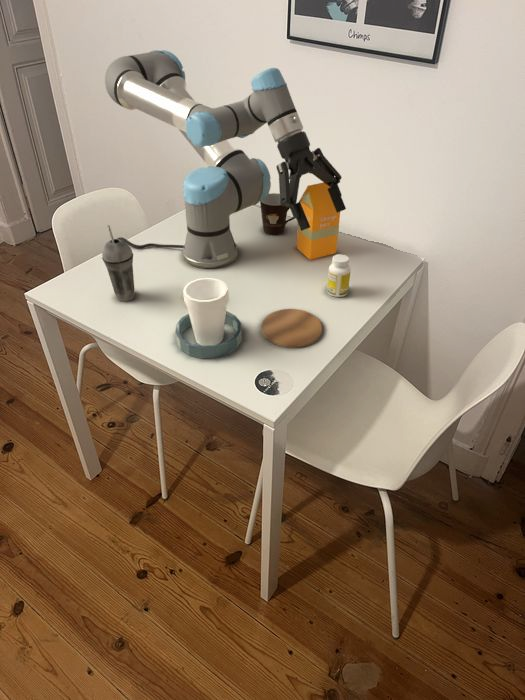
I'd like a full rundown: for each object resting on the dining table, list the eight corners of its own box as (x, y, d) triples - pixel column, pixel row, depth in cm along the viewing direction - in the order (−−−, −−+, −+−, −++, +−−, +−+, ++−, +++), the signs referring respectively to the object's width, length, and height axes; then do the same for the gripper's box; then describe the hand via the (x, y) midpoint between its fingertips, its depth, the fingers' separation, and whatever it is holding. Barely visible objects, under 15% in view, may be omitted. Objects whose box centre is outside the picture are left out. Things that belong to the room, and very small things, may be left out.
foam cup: (223, 353, 116) (220, 304, 108) (183, 348, 117) (177, 299, 109) (234, 328, 123) (232, 280, 115) (195, 323, 125) (191, 275, 116)
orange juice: (296, 248, 153) (299, 180, 140) (322, 241, 156) (327, 175, 144) (310, 260, 148) (314, 191, 135) (336, 253, 151) (343, 185, 138)
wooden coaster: (249, 330, 122) (249, 327, 122) (287, 304, 131) (287, 302, 130) (296, 356, 115) (296, 353, 115) (333, 327, 124) (334, 324, 123)
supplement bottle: (348, 287, 137) (352, 253, 131) (347, 298, 133) (351, 264, 127) (327, 285, 138) (330, 251, 131) (325, 296, 133) (329, 262, 127)
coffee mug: (254, 232, 161) (254, 201, 154) (269, 221, 166) (269, 191, 160) (287, 241, 156) (288, 210, 150) (301, 230, 162) (303, 199, 155)
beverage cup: (145, 291, 135) (133, 218, 122) (131, 307, 130) (116, 232, 117) (120, 286, 137) (106, 214, 124) (105, 301, 132) (88, 227, 119)
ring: (163, 339, 120) (162, 329, 118) (209, 311, 128) (208, 301, 126) (208, 367, 112) (208, 356, 110) (254, 336, 121) (254, 325, 119)
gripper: (261, 144, 118) (299, 233, 122) (334, 118, 131) (365, 199, 135) (243, 156, 124) (280, 240, 129) (314, 130, 137) (345, 207, 142)
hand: (324, 219), depth 132 cm, fingers open, 13 cm apart
